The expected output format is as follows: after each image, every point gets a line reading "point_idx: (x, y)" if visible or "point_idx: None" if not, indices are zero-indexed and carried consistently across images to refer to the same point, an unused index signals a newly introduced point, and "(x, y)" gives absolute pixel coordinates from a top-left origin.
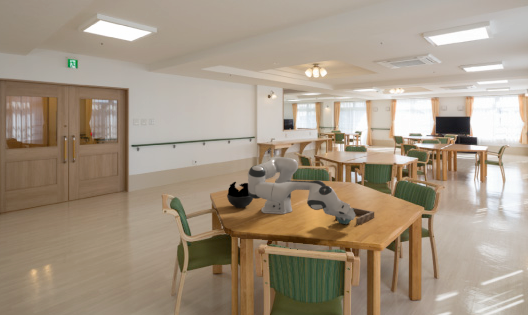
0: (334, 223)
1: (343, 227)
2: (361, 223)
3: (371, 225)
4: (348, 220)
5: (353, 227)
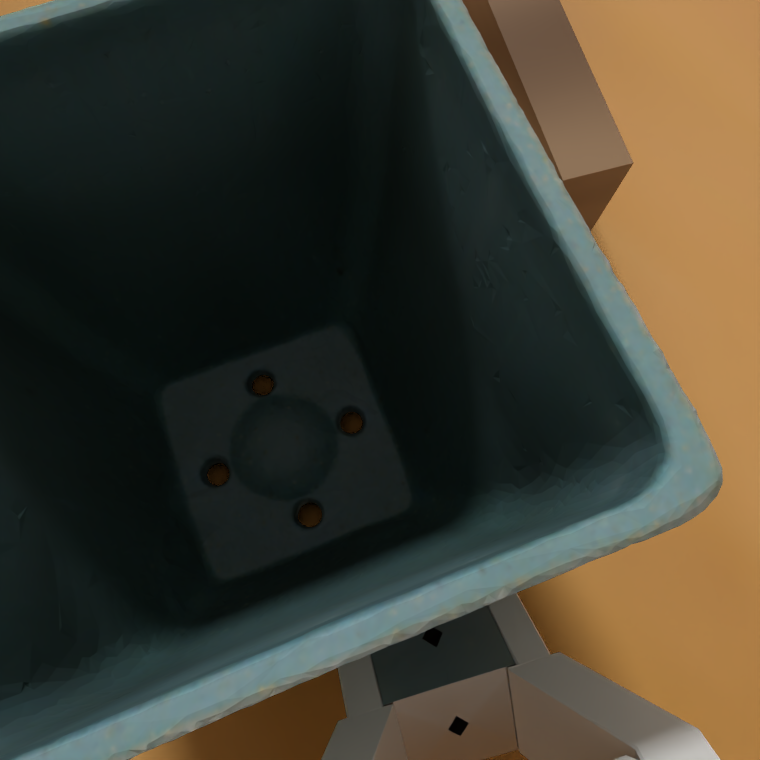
0: None
1: None
2: None
3: (724, 58)
4: (475, 436)
5: None
